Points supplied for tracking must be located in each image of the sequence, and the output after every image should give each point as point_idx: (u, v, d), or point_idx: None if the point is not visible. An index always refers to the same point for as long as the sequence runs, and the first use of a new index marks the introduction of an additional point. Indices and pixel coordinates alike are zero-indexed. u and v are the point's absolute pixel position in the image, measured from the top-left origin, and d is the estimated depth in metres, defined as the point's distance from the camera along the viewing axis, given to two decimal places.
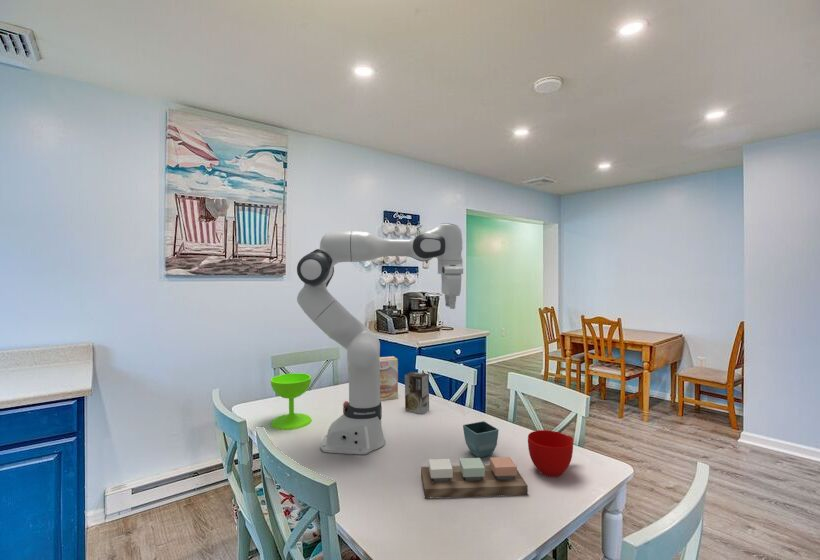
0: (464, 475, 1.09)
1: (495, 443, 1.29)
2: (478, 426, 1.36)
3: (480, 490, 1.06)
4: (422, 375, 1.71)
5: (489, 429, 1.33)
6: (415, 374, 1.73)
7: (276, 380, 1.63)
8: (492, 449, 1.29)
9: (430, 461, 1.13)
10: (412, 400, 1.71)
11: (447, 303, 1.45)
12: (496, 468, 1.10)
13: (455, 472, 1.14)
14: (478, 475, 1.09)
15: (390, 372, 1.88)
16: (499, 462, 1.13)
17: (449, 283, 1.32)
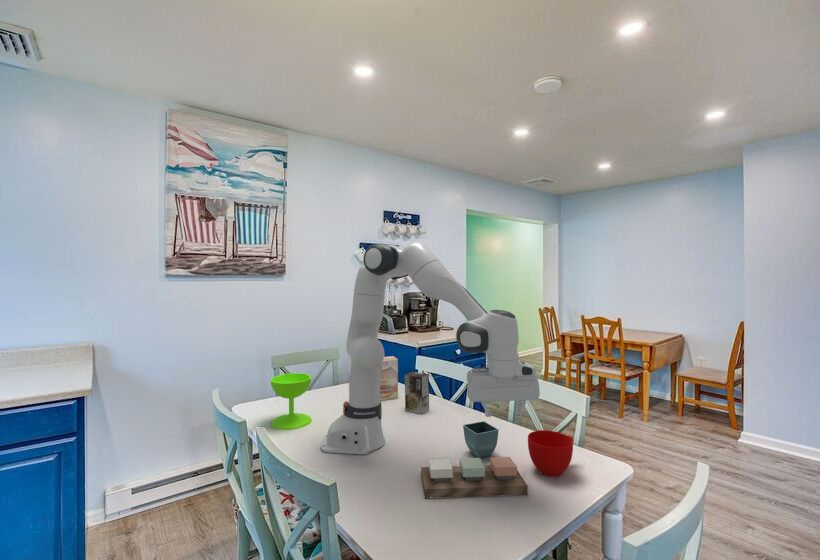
0: (464, 475, 1.09)
1: (495, 443, 1.29)
2: (478, 426, 1.36)
3: (480, 490, 1.06)
4: (422, 375, 1.71)
5: (489, 429, 1.33)
6: (415, 374, 1.73)
7: (276, 380, 1.63)
8: (492, 449, 1.29)
9: (430, 461, 1.13)
10: (412, 400, 1.71)
11: None
12: (496, 468, 1.10)
13: (455, 472, 1.14)
14: (478, 475, 1.09)
15: (390, 372, 1.88)
16: (499, 462, 1.13)
17: (538, 385, 1.11)
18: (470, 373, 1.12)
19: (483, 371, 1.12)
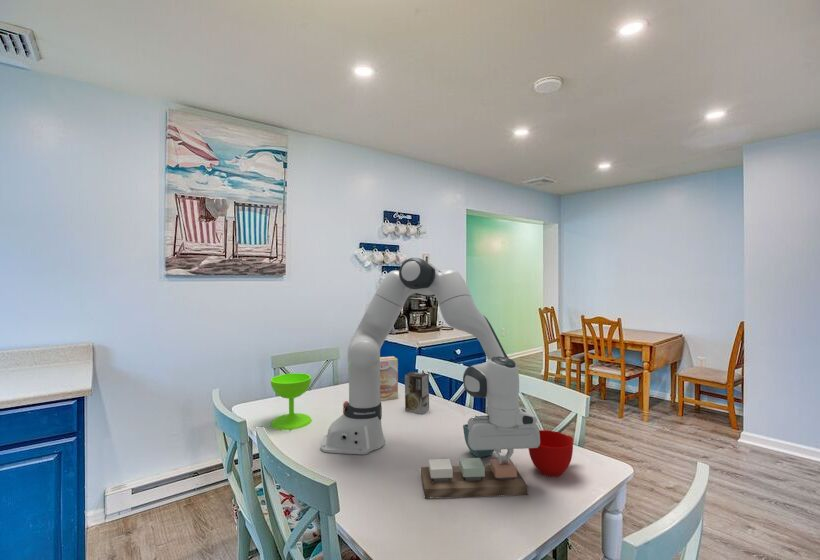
0: (464, 475, 1.09)
1: None
2: None
3: (480, 490, 1.06)
4: (422, 375, 1.71)
5: None
6: (415, 374, 1.73)
7: (276, 380, 1.63)
8: None
9: (430, 461, 1.13)
10: (412, 400, 1.71)
11: None
12: (496, 470, 1.10)
13: (455, 472, 1.14)
14: (478, 475, 1.09)
15: (390, 372, 1.88)
16: None
17: None
18: (471, 421, 1.12)
19: (484, 419, 1.12)
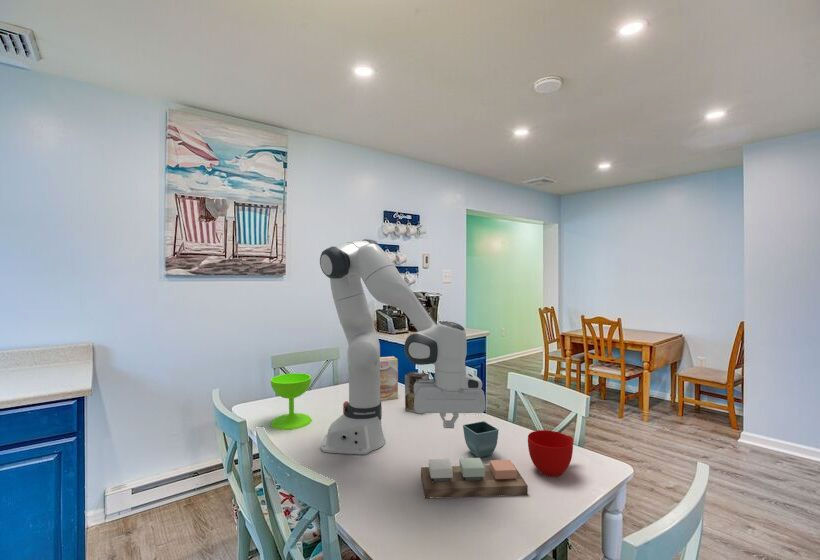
0: (464, 475, 1.09)
1: (495, 443, 1.29)
2: (478, 426, 1.36)
3: (480, 490, 1.06)
4: (422, 375, 1.71)
5: (489, 429, 1.33)
6: (415, 374, 1.73)
7: (276, 380, 1.63)
8: (492, 449, 1.29)
9: (430, 461, 1.13)
10: (412, 400, 1.71)
11: None
12: (496, 471, 1.10)
13: (455, 472, 1.14)
14: (478, 475, 1.09)
15: (390, 372, 1.88)
16: (499, 465, 1.13)
17: (484, 398, 1.11)
18: (417, 384, 1.11)
19: (430, 382, 1.11)
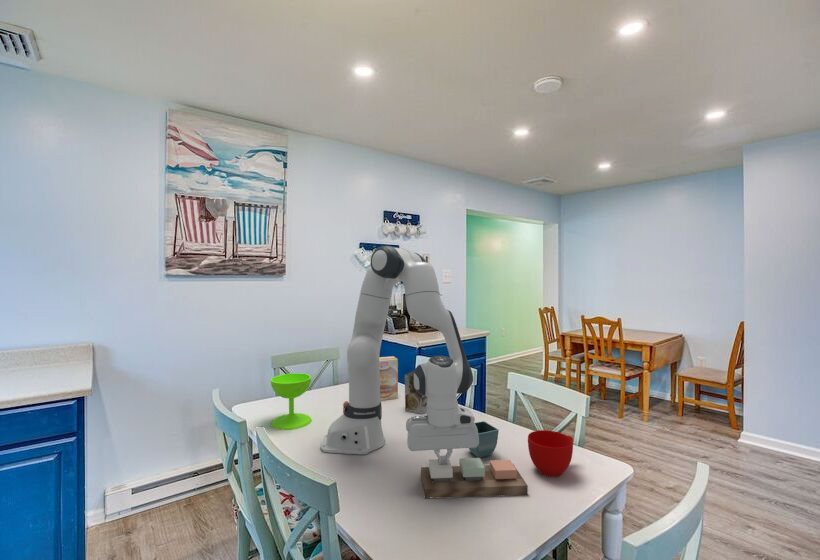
0: (464, 475, 1.09)
1: (495, 443, 1.29)
2: (478, 426, 1.36)
3: (480, 490, 1.06)
4: None
5: (489, 429, 1.33)
6: None
7: (276, 380, 1.63)
8: (492, 449, 1.29)
9: (430, 461, 1.13)
10: (412, 400, 1.71)
11: None
12: (496, 471, 1.10)
13: (455, 472, 1.14)
14: (478, 475, 1.09)
15: (390, 372, 1.88)
16: (499, 465, 1.13)
17: (477, 432, 1.11)
18: (409, 421, 1.11)
19: (422, 419, 1.11)
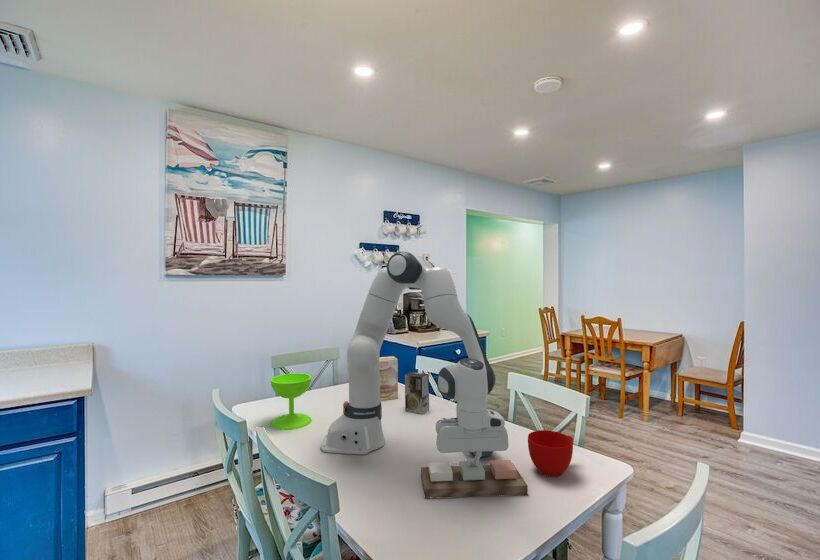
0: (464, 478, 1.09)
1: None
2: None
3: (480, 490, 1.06)
4: (422, 375, 1.71)
5: None
6: (415, 374, 1.73)
7: (276, 380, 1.63)
8: None
9: (430, 464, 1.13)
10: (412, 400, 1.71)
11: None
12: (496, 471, 1.10)
13: (455, 472, 1.14)
14: (478, 478, 1.09)
15: (390, 372, 1.88)
16: (499, 465, 1.13)
17: (507, 436, 1.11)
18: (439, 423, 1.11)
19: (452, 421, 1.11)
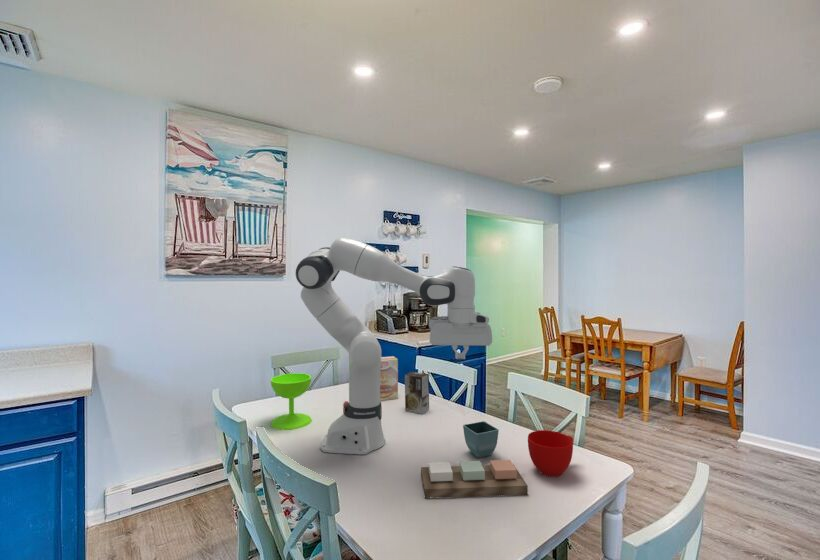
0: (464, 478, 1.09)
1: (495, 443, 1.29)
2: (478, 426, 1.36)
3: (480, 490, 1.06)
4: (422, 375, 1.71)
5: (489, 429, 1.33)
6: (415, 374, 1.73)
7: (276, 380, 1.63)
8: (492, 449, 1.29)
9: (430, 464, 1.13)
10: (412, 400, 1.71)
11: None
12: (496, 471, 1.10)
13: (455, 472, 1.14)
14: (478, 478, 1.09)
15: (390, 372, 1.88)
16: (499, 465, 1.13)
17: None
18: (432, 320, 1.28)
19: (443, 319, 1.28)
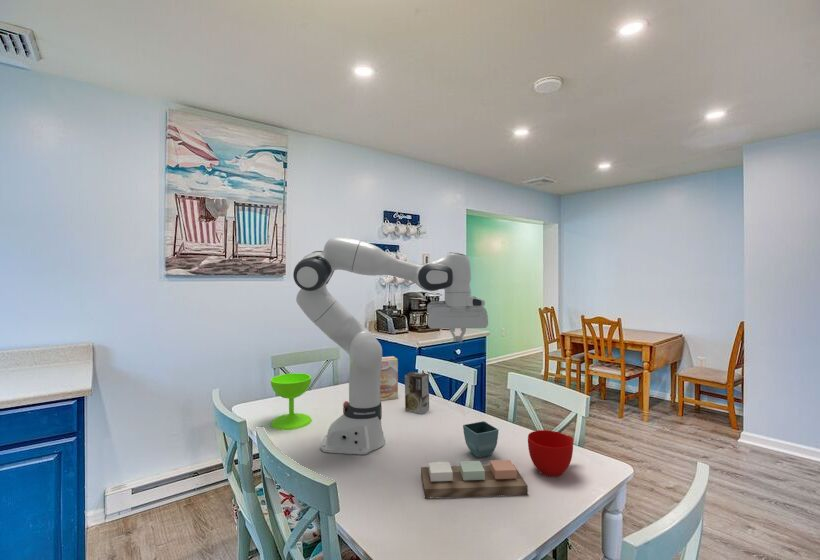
0: (464, 478, 1.09)
1: (495, 443, 1.29)
2: (478, 426, 1.36)
3: (480, 490, 1.06)
4: (422, 375, 1.71)
5: (489, 429, 1.33)
6: (415, 374, 1.73)
7: (276, 380, 1.63)
8: (492, 449, 1.29)
9: (430, 464, 1.13)
10: (412, 400, 1.71)
11: None
12: (496, 471, 1.10)
13: (455, 472, 1.14)
14: (478, 478, 1.09)
15: (390, 372, 1.88)
16: (499, 465, 1.13)
17: (487, 315, 1.32)
18: (430, 305, 1.33)
19: (441, 303, 1.33)
